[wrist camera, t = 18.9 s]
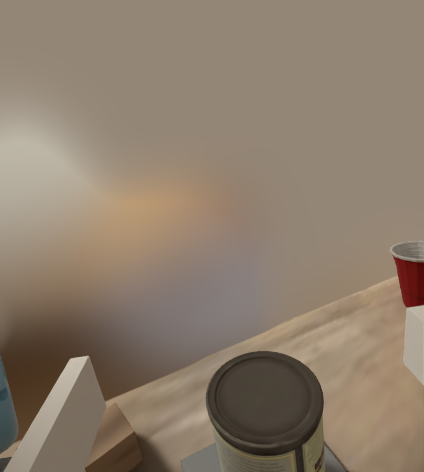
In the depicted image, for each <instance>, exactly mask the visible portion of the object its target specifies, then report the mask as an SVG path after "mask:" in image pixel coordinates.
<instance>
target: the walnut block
mask: <svg viewBox="0 0 424 472" xmlns="http://www.w3.org/2000/svg"><path fill="white" fill-rule="evenodd" d="M142 460H144V459H143V456H142V453H141V450H140V447H139V443H138V440H137V437H136V434H135V431H134V429H133V428H132V426H131V425H130V423H129V422H128V420H127V419H126V417H125V416H124V414H123V413H122V411H121V410H120V408H119V407H118V405H117V404H116V403H114V404H113V405H111V406H110V407H108V408H107V409H105V412H104V415H103V417H102V420H101V423H100V426H99V429H98V431H97V434H96V437H95V440H94V443H93V446H92V448H91V451H90V454H89V457H88V460H87V463H86V465H85V470H86V472H129V471H130V470H131V469H133V468H134V467H135V466H136V465H137V464H139V463H140V462H141V461H142Z"/></svg>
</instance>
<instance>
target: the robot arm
mask: <svg viewBox="0 0 424 472" xmlns="http://www.w3.org/2000/svg"><path fill="white" fill-rule="evenodd" d="M403 363H404V364H405V365H406V366H407V368H408V369H409V370H410V371H411V372H412V373H413V374H414V375H415V376H416V378H417V379H418V380H419V381H420V382H421V383H422V384H423V385H424V305H423V306H416V307H410V308H406V324H405V341H404V358H403ZM105 409H106V404H105V401H104V399H103V396H102V393H101V390H100V387H99V384H98V381H97V378H96V375H95V373H94V370H93V367H92V364H91V361H90V358H89V356H85V357H78V358H72V359H70V360H69V362H68V364H67V365H66V367H65V369H64V371H63V372H62V374H61V376H60V377H59V379H58V381H57V382H56V384H55V386H54V387H53V389H52V391H51V392H50V394H49V396H48V398H47V399H46V401H45V403H44V404H43V406H42V408H41V410H40V411H39V413H38V414H37V416H36V418H35V419H34V421H33V423H32V425H31V426H30V428H29V430H28V431H27V433H26V435H25V436H24V438H23V440H22V441H21V443H20V445H19V446H18V448H17V450H16V451H15V453H14V455H13V457H9V458H2V459H0V472H83V471H84V468H85V465H86V463H87V460H88V457H89V454H90V451H91V448H92V446H93V443H94V440H95V437H96V434H97V431H98V429H99V426H100V423H101V420H102V417H103V415H104V412H105ZM17 435H18V422H17V418H16V414H15V410H14V406H13V402H12V398H11V394H10V390H9V386H8V382H7V378H6V374H5V370H4V367H3V363H2V359H1V355H0V454H1V453H2V452H4V451H5V450H7V449H8V448H9V447H10V446H11V445H12V444H13V443H14V441H15V439H16V437H17Z"/></svg>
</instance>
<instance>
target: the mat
mask: <svg viewBox="0 0 424 472" xmlns="http://www.w3.org/2000/svg"><path fill="white" fill-rule="evenodd" d="M324 453H325V472H347V471H346V470H345V469H344V468H343V466H342V465H341V464H340V463H339V462H338V460H337V459H336V458H335V457H334V455H333V454H332V453H331V452H330V451H329V449H328V448H327V447H326V446H325V444H324ZM181 463H182V467H183V470H184V472H222V469H221V465H220V460H219V456H218V451H217V446H216V443H214V444H212V445H210V446H208V447H206V448H204V449H203V450H201V451H199V452H197V453H195V454H193V455H191V456H189V457H187V458H185V459H183V460H181Z"/></svg>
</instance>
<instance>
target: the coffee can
mask: <svg viewBox="0 0 424 472" xmlns="http://www.w3.org/2000/svg"><path fill="white" fill-rule="evenodd" d="M323 404H324V400H323V392H322V389H321V386H320V383H319V381H318V379H317V378H316V376H315V375H314V373H313V372H312V371H311V370H310V369H309V368H308V367H307V366H306V365H304V364H303V363H301V362H300V361H298V360H296V359H294V358H292V357H290V356H288V355H285V354H282V353H277V352H270V351H257V352H250V353H246V354H242V355H240V356H237V357H235V358H233V359H231V360H229V361H228V362H226V363H225V364H224V365H222V366H221V367H220V368H219V369H218V370H217V371H216V372H215V374H214V375H213V377H212V378H211V380H210V382H209V385H208V388H207V392H206V407H207V411H208V415H209V417H210V420H211V423H212V427H213V432H214V437H215V442H216V446H217V451H218V456H219V460H220V465H221V469H222V472H325V453H324V436H323V417H322V413H323Z"/></svg>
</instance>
